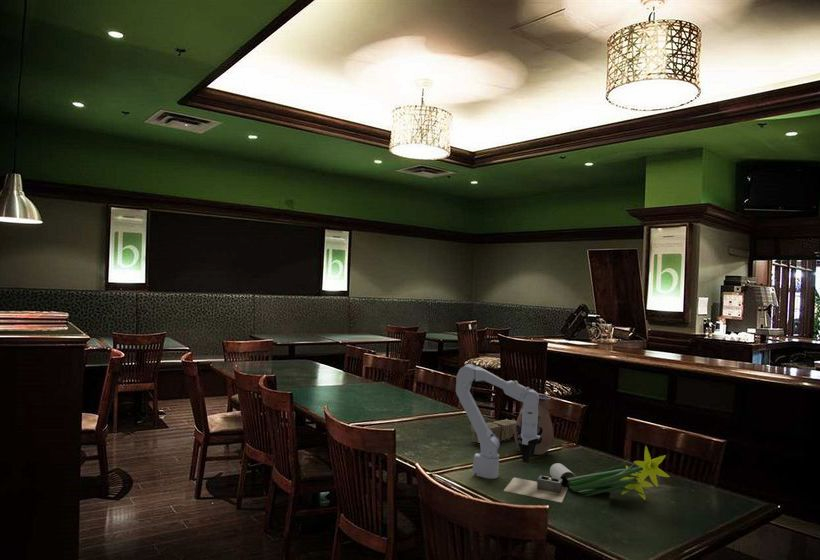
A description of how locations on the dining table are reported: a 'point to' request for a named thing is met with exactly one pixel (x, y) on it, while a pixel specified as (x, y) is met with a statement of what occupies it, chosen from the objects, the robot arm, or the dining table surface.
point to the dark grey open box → (549, 484)
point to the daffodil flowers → (626, 476)
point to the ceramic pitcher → (539, 427)
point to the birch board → (534, 490)
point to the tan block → (498, 429)
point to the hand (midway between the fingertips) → (527, 459)
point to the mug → (560, 471)
